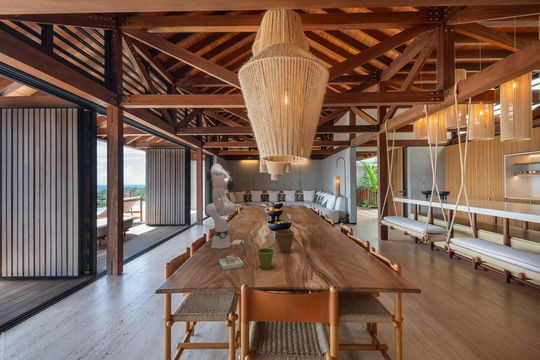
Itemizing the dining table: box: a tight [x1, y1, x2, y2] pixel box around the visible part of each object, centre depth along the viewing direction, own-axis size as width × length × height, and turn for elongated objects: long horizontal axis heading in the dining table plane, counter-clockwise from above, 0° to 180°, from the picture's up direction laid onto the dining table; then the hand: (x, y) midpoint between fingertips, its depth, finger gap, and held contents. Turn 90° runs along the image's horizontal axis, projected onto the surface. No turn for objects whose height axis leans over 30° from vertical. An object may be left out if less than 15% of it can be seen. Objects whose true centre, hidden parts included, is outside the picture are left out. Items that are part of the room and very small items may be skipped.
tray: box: [218, 257, 245, 271], centre depth 165 cm, size 14×14×3 cm
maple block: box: [226, 255, 235, 265], centre depth 165 cm, size 5×5×5 cm
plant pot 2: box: [275, 229, 294, 253], centre depth 195 cm, size 15×15×16 cm
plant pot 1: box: [256, 247, 275, 270], centre depth 161 cm, size 12×12×11 cm
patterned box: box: [230, 239, 246, 259], centre depth 186 cm, size 21×6×12 cm, turn 173°
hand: (219, 213), depth 177 cm, fingers open, 8 cm apart
